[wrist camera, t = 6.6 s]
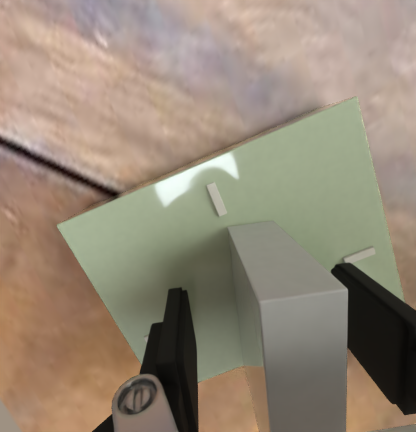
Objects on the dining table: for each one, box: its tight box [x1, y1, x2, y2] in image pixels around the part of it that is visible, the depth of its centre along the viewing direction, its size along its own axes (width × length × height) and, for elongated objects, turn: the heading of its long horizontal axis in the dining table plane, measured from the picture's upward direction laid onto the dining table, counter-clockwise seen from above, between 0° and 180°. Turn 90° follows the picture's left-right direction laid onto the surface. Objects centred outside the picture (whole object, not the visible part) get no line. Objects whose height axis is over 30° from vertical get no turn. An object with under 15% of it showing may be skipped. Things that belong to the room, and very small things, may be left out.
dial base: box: [57, 96, 405, 383], centre depth 13 cm, size 13×12×3 cm
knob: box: [227, 221, 348, 432], centre depth 9 cm, size 7×2×6 cm, turn 8°
